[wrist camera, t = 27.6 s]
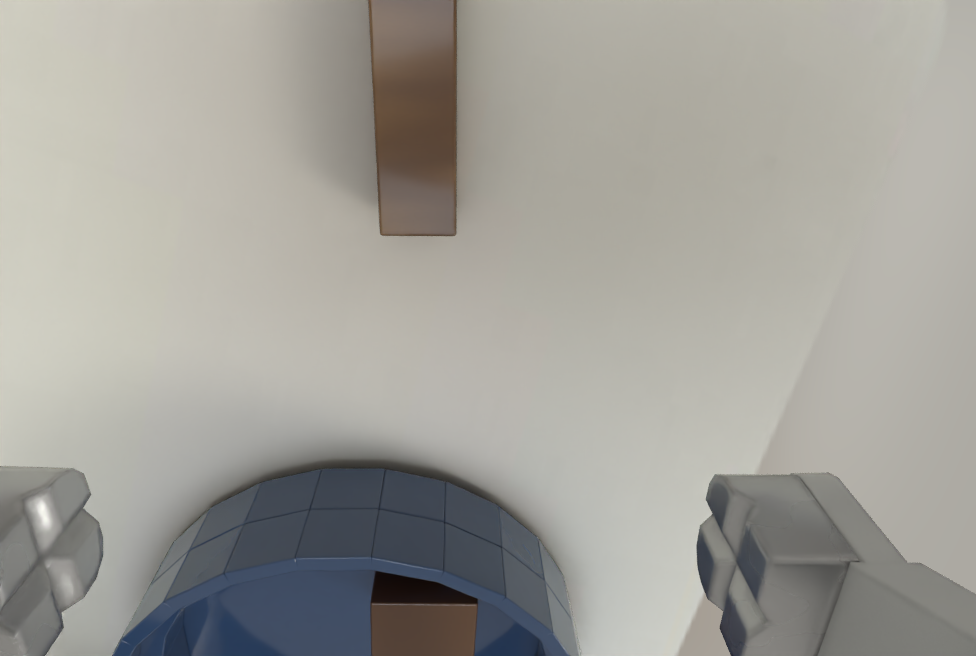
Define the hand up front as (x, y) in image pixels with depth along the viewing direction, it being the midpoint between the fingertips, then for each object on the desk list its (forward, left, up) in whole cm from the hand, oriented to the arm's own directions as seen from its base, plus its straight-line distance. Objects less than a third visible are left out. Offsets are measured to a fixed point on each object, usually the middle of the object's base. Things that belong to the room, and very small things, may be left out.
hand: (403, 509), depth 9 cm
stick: (+1, 0, -14) cm, 14 cm away
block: (0, +16, -15) cm, 22 cm away
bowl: (+3, +20, -16) cm, 26 cm away
